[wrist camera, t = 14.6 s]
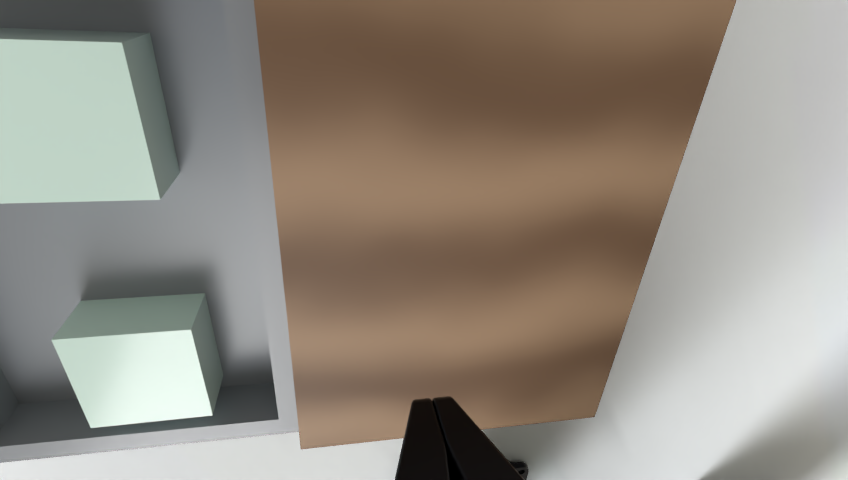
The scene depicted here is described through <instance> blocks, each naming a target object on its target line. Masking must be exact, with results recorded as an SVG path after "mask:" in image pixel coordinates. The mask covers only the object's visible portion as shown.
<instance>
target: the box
mask: <svg viewBox="0 0 848 480" xmlns="http://www.w3.org/2000/svg"><path fill="white" fill-rule="evenodd" d="M0 28H21V29H51V30H81V31H111V32H141V33H150V36H151V40H152V45H153V50H154V54H155V59H156V64H157V68H158V73H159V78H160V82H161V87H162V92H163V96H164V101H165V105H166V110H167V115H168V119H169V124H170V129H171V133H172V138H173V143H174V147H175V152H176V157H177V161H178V166H179V171H180V174H179V175H178V176H177V178H176V179H175V180H174V182H173V183H172V184H171V186H170V187H169V189H168V190H167V191H166V193H165V194H164V195H163V197H162V198H161V199H160V200H133V201H90V202H48V203H6V204H0V463H1V462H11V461H21V460H30V459H40V458H50V457H59V456H69V455H79V454H88V453H98V452H108V451H118V450H127V449H137V448H147V447H156V446H166V445H176V444H185V443H195V442H205V441H214V440H224V439H234V438H243V437H253V436H263V435H272V434H282V433H292V432H299V427H298V417H297V408H296V398H295V389H294V379H293V370H292V360H291V351H290V341H289V332H288V322H287V313H286V303H285V293H284V284H283V274H282V265H281V255H280V246H279V236H278V227H277V217H276V208H275V198H274V189H273V179H272V170H271V160H270V151H269V141H268V132H267V122H266V113H265V103H264V93H263V84H262V74H261V65H260V55H259V46H258V36H257V27H256V17H255V8H254V0H0ZM198 293H205V295H206V300H207V304H208V309H209V313H210V318H211V322H212V327H213V331H214V335H215V340H216V344H217V349H218V353H219V358H220V362H221V367H222V371H223V378H222V382H221V386H220V390H219V394H218V397H217V401H216V405H215V409H214V413H213V415H212V416H203V417H193V418H184V419H174V420H164V421H155V422H145V423H135V424H126V425H116V426H107V427H97V428H90V425H89V423H88V421H87V419H86V416H85V414H84V412H83V410H82V407H81V405H80V403H79V401H78V398H77V396H76V394H75V392H74V390H73V387H72V385H71V383H70V381H69V378H68V376H67V374H66V372H65V369H64V367H63V365H62V363H61V360H60V358H59V356H58V354H57V351H56V349H55V347H54V345H53V343H52V338H53V337H54V336H55V334H56V333H57V332H58V330H59V329H60V328H61V326H62V325H63V324H64V322H65V321H66V320H67V318H68V317H69V316H70V314H71V313H72V312H73V310H74V309H75V308H76V306H77V305H78V304H79V302H80V301H85V300H101V299H117V298H133V297H150V296H166V295H182V294H198Z"/></svg>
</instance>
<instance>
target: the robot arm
mask: <svg viewBox="0 0 848 480" xmlns="http://www.w3.org/2000/svg"><path fill="white" fill-rule="evenodd" d="M527 475H528V467H527V465H526V463H524V462H518V463H509V461H508V460H507V459H506V458H505V457H504V456H503V455H502V453H501V452H500V451H499V450H498V449H497V448H496V447H495V445H494V444H493V443H492V442H491V441H490V440H489V439H488V437H487V436H486V435H485V434H484V433H483V432H482V431H481V429H480V428H479V427H478V426H477V425H476V424H475V423H474V421H473V420H472V419H471V418H470V417H469V416H468V415H467V413H466V412H465V411H464V410H463V409H462V408H461V406H460V405H459V404H458V403H457V402H456V401H455V400H454V399H453V398H452V397H450V396H445V397H435V398H433V399H432V400H431V399H430V398H425V399H415V400H413V401H412V403H411V407H410V412H409V417H408V421H407V426H406V431H405V435H404V440H403V444H402V449H401V454H400V458H399V463H398V468H397V472H396V477H395V480H526V478H527Z"/></svg>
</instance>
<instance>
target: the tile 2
mask: <svg viewBox="0 0 848 480" xmlns="http://www.w3.org/2000/svg"><path fill="white" fill-rule="evenodd" d="M52 343H53V345H54V347H55V349H56V351H57V354H58V356H59V358H60V360H61V363H62V365H63V367H64V369H65V372H66V374H67V376H68V378H69V381H70V383H71V385H72V387H73V390H74V392H75V394H76V396H77V398H78V401H79V403H80V405H81V407H82V410H83V412H84V414H85V416H86V419H87V421H88V423H89V425H90V428H97V427H107V426H116V425H126V424H135V423H145V422H155V421H164V420H174V419H184V418H193V417H203V416H212V415H213V413H214V409H215V405H216V401H217V397H218V394H219V390H220V386H221V382H222V378H223V371H222V367H221V362H220V358H219V353H218V349H217V344H216V340H215V335H214V331H213V327H212V322H211V318H210V313H209V309H208V304H207V300H206V295H205V293H198V294H182V295H166V296H150V297H133V298H117V299H101V300H85V301H80V302H79V304H78V305H77V306H76V308H75V309H74V310H73V312H72V313H71V314H70V316H69V317H68V318H67V320H66V321H65V322H64V324H63V325H62V326H61V328H60V329H59V330H58V332H57V333H56V334H55V336H54V337H53V338H52Z"/></svg>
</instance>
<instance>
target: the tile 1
mask: <svg viewBox="0 0 848 480" xmlns="http://www.w3.org/2000/svg"><path fill="white" fill-rule="evenodd" d="M179 174H180V171H179V166H178V161H177V157H176V152H175V147H174V143H173V138H172V133H171V129H170V124H169V119H168V115H167V110H166V105H165V101H164V96H163V92H162V87H161V82H160V78H159V73H158V68H157V64H156V59H155V54H154V50H153V45H152V40H151V36H150V33H141V32H111V31H81V30H51V29H21V28H0V204H6V203H48V202H90V201H133V200H160V199H161V198H162V197H163V195H164V194H165V193H166V191H167V190H168V189H169V187H170V186H171V184H172V183H173V182H174V180H175V179H176V178H177V176H178V175H179Z"/></svg>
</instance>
